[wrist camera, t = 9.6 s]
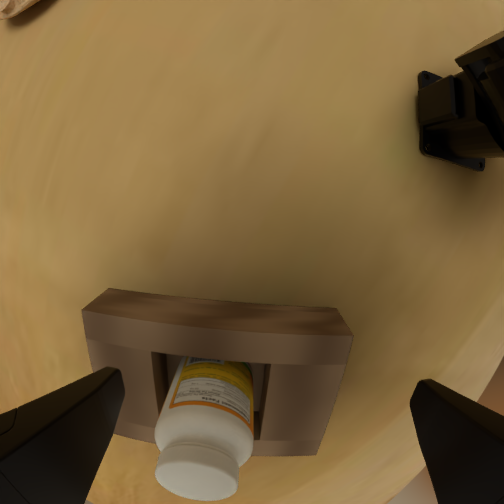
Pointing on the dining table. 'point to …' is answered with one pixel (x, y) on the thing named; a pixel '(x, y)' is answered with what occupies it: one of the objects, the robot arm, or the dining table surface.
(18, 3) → the pottery oil lamp
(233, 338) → the walnut holder
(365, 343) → the dining table surface
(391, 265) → the dining table surface
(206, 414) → the supplement bottle
